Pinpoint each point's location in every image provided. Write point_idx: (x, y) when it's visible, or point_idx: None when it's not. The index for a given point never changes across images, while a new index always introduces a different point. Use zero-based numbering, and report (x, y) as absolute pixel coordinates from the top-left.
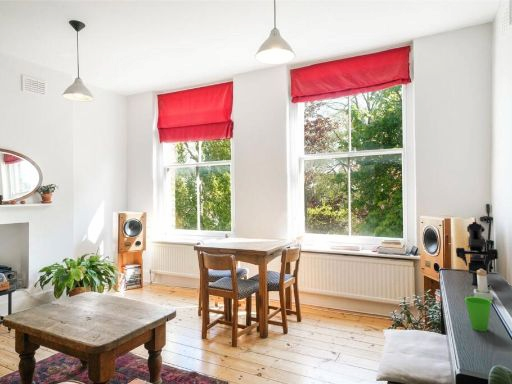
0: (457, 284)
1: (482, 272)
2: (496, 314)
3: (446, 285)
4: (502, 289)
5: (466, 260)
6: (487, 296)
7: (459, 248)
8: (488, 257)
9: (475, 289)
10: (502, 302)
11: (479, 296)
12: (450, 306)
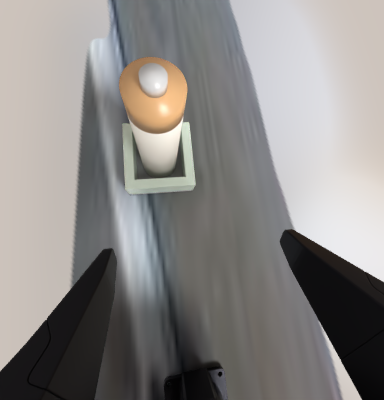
0: (275, 334)
1: (146, 63)
2: (116, 3)
3: None
4: None
5: (325, 263)
6: None
7: None
8: (28, 387)
9: (188, 174)
10: (96, 129)
11: None
12: (233, 28)
